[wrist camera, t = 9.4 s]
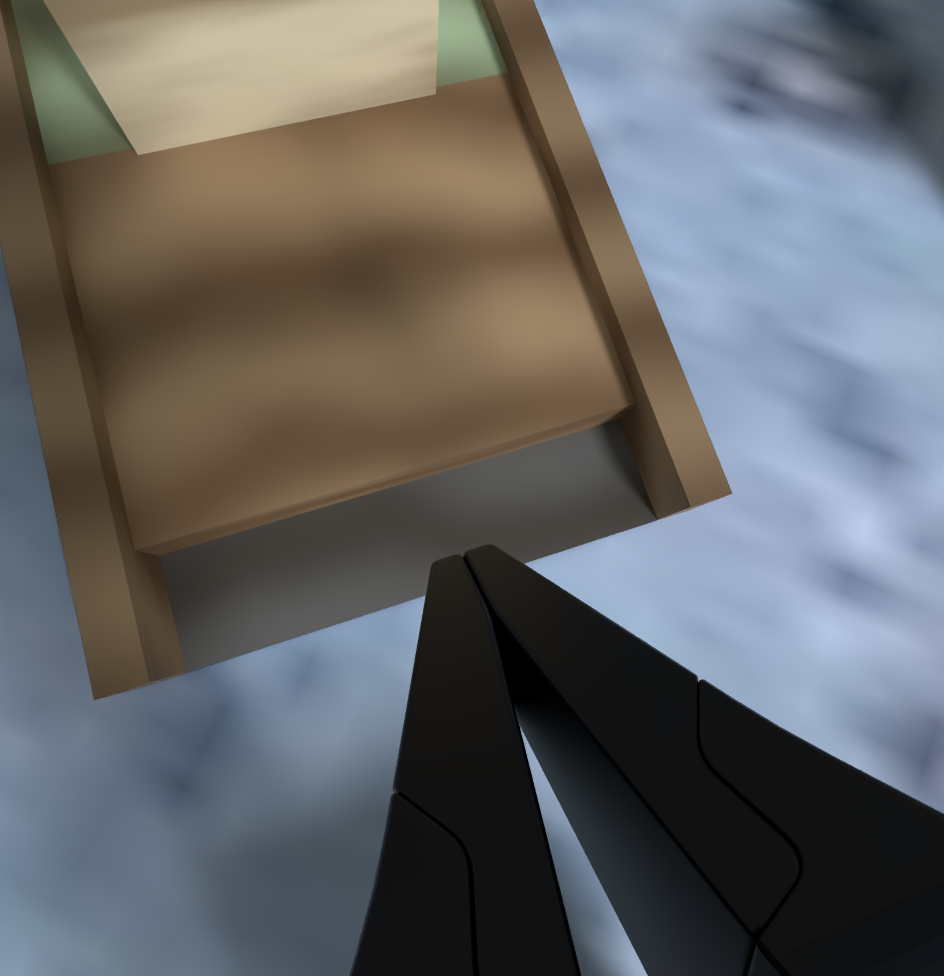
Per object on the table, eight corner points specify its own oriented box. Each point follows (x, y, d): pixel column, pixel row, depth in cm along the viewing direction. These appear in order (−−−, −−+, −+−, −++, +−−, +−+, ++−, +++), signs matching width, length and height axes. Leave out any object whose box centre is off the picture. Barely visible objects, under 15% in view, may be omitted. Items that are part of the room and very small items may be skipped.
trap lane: (691, 508, 23) (748, 487, 19) (142, 687, 20) (74, 705, 16) (407, -220, 29) (406, -351, 25) (-45, -163, 26) (-127, -301, 22)
